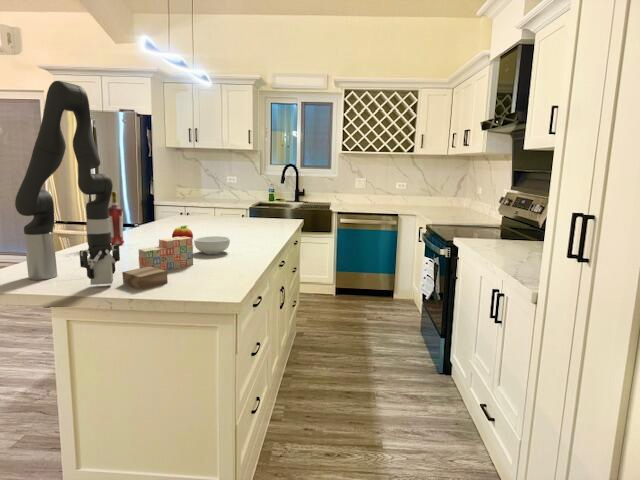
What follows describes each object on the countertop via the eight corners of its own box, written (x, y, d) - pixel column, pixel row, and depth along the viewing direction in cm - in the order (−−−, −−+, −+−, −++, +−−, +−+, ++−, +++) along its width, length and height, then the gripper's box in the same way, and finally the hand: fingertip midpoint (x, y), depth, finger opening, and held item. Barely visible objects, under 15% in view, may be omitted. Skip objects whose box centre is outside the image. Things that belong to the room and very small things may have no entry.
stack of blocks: (146, 273, 175) (144, 243, 172) (139, 271, 179) (137, 241, 177) (193, 265, 190) (192, 237, 188) (186, 262, 194) (184, 235, 192)
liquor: (109, 243, 231) (105, 191, 226) (124, 242, 235) (120, 191, 230) (110, 246, 225) (106, 192, 220) (125, 245, 229) (121, 192, 223)
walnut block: (123, 285, 159) (122, 272, 159) (149, 278, 168) (149, 266, 168) (141, 290, 153) (140, 277, 152) (167, 283, 162) (166, 270, 161)
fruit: (168, 245, 230) (167, 227, 228) (180, 242, 240) (179, 224, 238) (185, 247, 227) (185, 228, 225) (197, 243, 237) (196, 225, 235)
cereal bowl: (234, 250, 222) (233, 236, 221) (223, 257, 206) (223, 242, 205) (202, 248, 224) (201, 235, 223) (189, 255, 208) (188, 241, 206)
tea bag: (111, 283, 156) (110, 256, 154) (90, 284, 154) (88, 257, 152) (113, 280, 159) (111, 254, 157) (92, 281, 157) (90, 254, 155)
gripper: (110, 227, 161) (112, 270, 164) (72, 232, 148) (76, 278, 152) (123, 229, 157) (125, 273, 160) (86, 235, 145) (89, 282, 148)
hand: (101, 275), depth 156 cm, fingers closed on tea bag, 7 cm apart
